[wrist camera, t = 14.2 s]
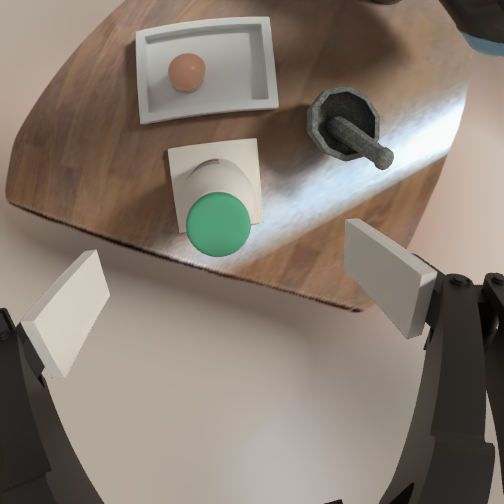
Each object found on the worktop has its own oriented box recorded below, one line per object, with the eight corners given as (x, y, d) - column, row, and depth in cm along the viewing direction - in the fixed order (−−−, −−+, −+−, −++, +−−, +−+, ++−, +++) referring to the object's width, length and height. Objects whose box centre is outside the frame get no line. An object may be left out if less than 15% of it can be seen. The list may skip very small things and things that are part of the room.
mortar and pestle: (282, 113, 36) (309, 102, 25) (333, 82, 35) (373, 66, 24) (325, 177, 40) (364, 191, 29) (371, 145, 39) (418, 150, 28)
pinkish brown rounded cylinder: (209, 71, 32) (212, 61, 28) (194, 98, 33) (194, 91, 29) (180, 59, 31) (179, 48, 26) (165, 86, 32) (161, 78, 27)
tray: (266, 23, 31) (269, 16, 28) (274, 109, 36) (278, 107, 33) (140, 37, 29) (135, 31, 27) (144, 124, 34) (140, 123, 32)
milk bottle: (239, 152, 37) (263, 161, 18) (250, 206, 40) (280, 266, 21) (183, 164, 36) (150, 187, 18) (196, 218, 39) (180, 287, 21)
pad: (255, 138, 37) (256, 138, 36) (262, 221, 42) (263, 222, 41) (168, 148, 36) (167, 148, 35) (180, 231, 41) (179, 232, 40)
